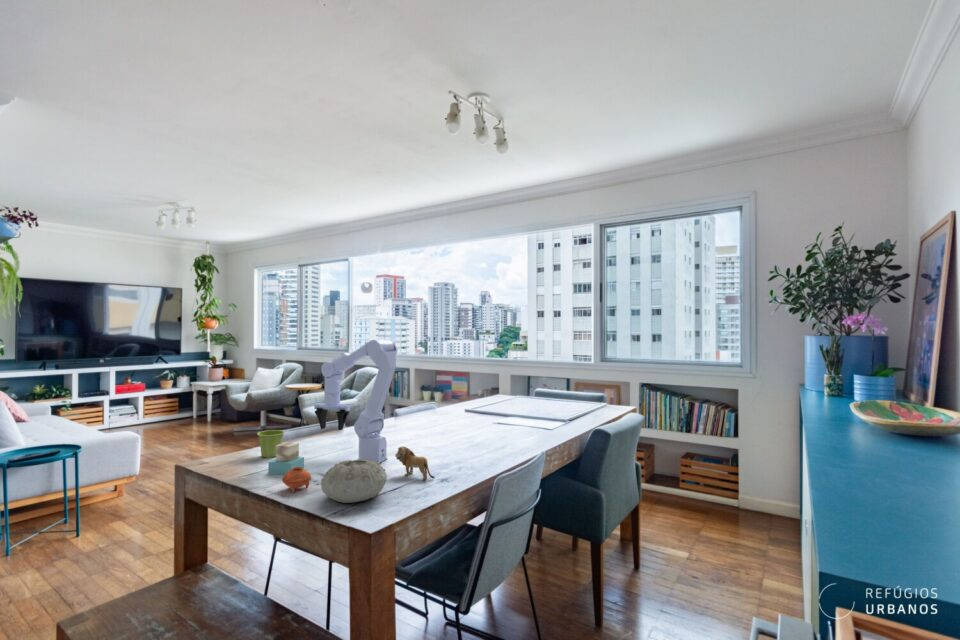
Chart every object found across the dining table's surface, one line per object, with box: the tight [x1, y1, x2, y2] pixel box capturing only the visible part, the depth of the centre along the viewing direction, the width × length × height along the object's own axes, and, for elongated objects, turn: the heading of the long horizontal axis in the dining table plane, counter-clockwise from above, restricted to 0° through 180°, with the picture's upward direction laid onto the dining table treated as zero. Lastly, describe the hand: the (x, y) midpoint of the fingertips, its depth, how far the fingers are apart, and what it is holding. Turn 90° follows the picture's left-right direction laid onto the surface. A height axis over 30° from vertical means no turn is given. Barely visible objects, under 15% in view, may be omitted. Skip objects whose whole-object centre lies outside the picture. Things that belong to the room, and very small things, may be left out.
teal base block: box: [267, 456, 305, 476], centre depth 159 cm, size 8×8×4 cm
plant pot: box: [257, 429, 286, 459], centre depth 177 cm, size 9×9×9 cm
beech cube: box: [275, 441, 300, 462], centre depth 159 cm, size 5×5×5 cm
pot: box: [281, 467, 312, 493], centre depth 141 cm, size 8×8×7 cm
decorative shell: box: [320, 459, 388, 504], centre depth 134 cm, size 18×18×10 cm
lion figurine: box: [394, 445, 435, 482], centre depth 153 cm, size 15×5×9 cm, turn 62°
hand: (331, 429), depth 181 cm, fingers open, 7 cm apart
